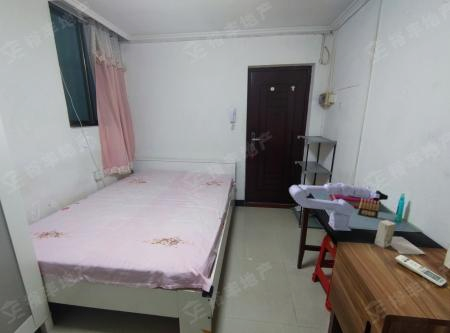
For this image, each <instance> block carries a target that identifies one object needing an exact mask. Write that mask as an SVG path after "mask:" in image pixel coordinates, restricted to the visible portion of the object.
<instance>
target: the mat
mask: <svg viewBox="0 0 450 333" xmlns="http://www.w3.org/2000/svg"><path fill="white" fill-rule="evenodd" d="M389 247H391V248H393V249H394V250H395V251H396V250H397V251H396V252H397V253H398V254H401V255H419V254H425V255H426V253H425V252H424V251H423V250H421V249H419V248H418V247H417V246H415V245H414V244H413V243H412V242H410V241H409V240H407V239H406V238H404V237H402V236H393V237H392V241H391V245H390V246H389Z"/></svg>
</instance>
